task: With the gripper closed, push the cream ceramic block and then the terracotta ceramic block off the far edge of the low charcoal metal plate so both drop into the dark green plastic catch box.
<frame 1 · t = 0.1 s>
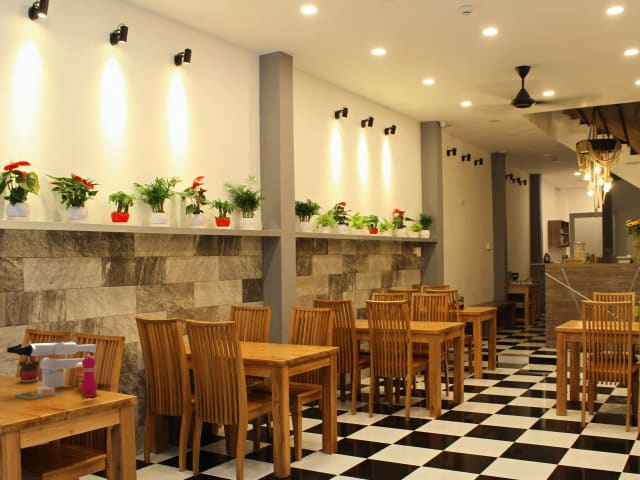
hand: (11, 350, 327), 22 cm above the table, tool horizontal, fingers open, 7 cm apart
pepper mill: (89, 397, 319), on the table
cake: (29, 381, 369), on the table
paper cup: (85, 392, 333), on the table
tile terracotta: (49, 395, 319), point 1 cm above the table, touching plate
tile cream: (42, 393, 323), point 1 cm above the table, touching plate
catch box: (30, 400, 316), on the table
plate: (47, 397, 322), on the table
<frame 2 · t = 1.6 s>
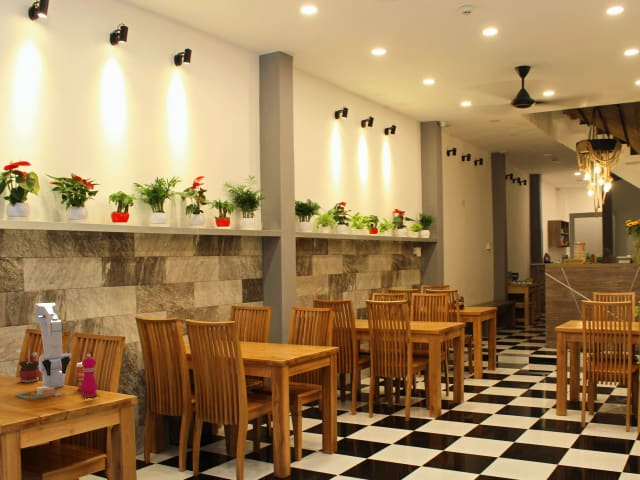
hand: (56, 374, 328), 9 cm above the table, tool pointing down, fingers open, 7 cm apart
nothing on the table moved.
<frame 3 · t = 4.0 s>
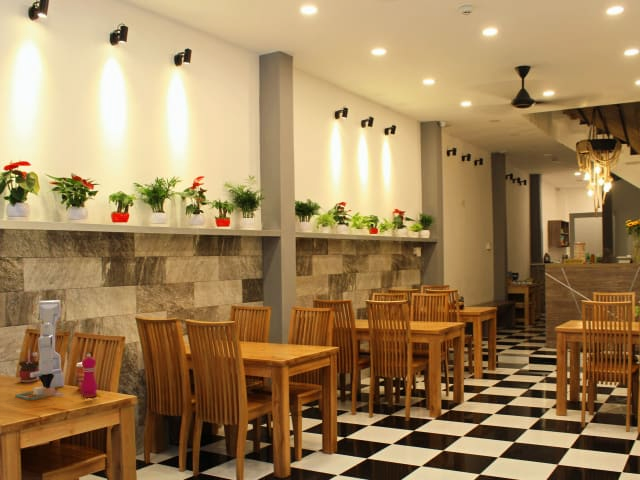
hand: (46, 390, 325), 3 cm above the table, tool pointing down, fingers closed
tile cream: (39, 394, 322), point 2 cm above the table
everything else where it was.
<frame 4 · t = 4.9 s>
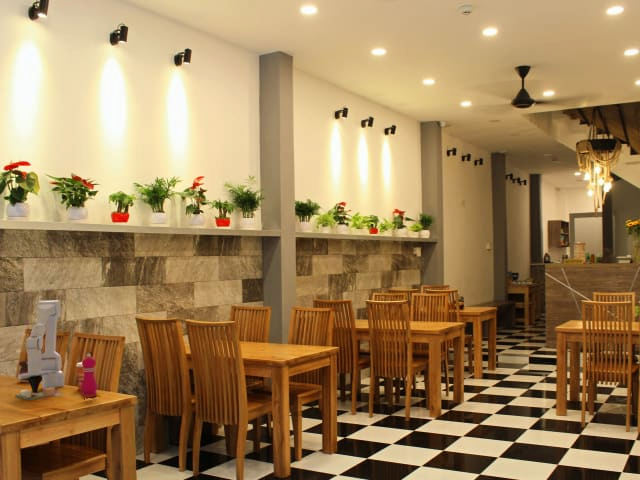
hand: (34, 392, 320), 3 cm above the table, tool pointing down, fingers closed
tile cream: (28, 394, 318), point 2 cm above the table, tilted 90°, touching catch box
everything else where it was.
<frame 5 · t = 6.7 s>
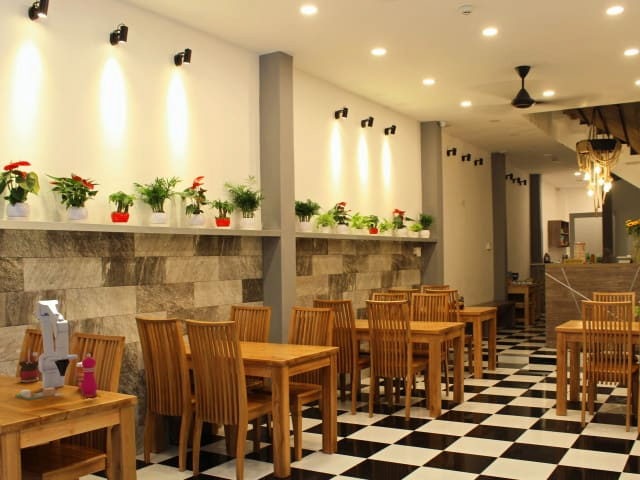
hand: (62, 376, 324), 9 cm above the table, tool pointing down, fingers closed
nothing on the table moved.
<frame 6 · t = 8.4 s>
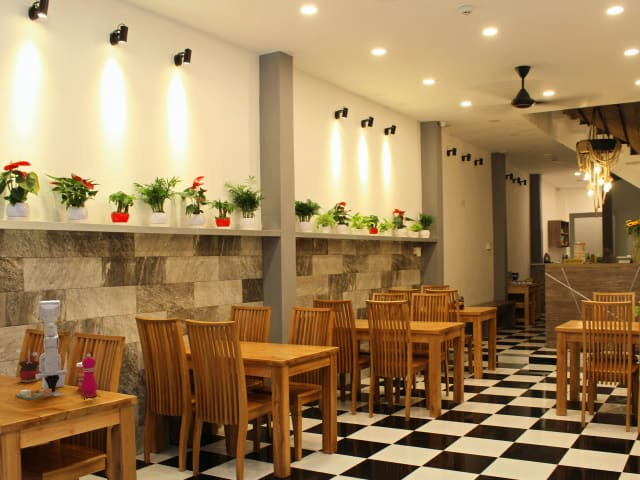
hand: (52, 392, 320), 3 cm above the table, tool pointing down, fingers closed
tile terracotta: (45, 395, 318), point 2 cm above the table, touching gripper
everything else where it was.
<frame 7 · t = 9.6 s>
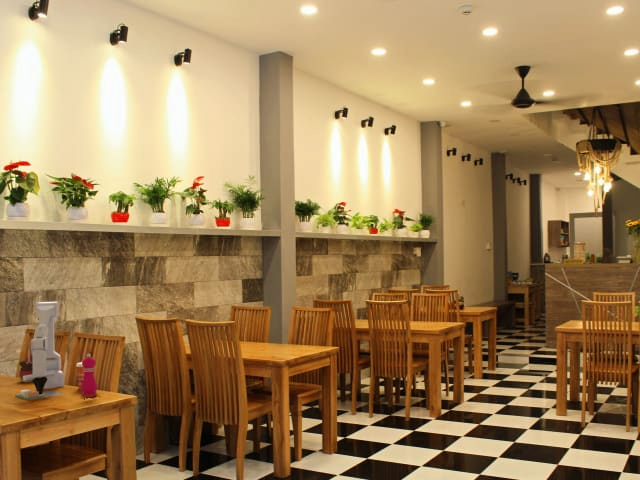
hand: (39, 394, 316), 3 cm above the table, tool pointing down, fingers closed
tile terracotta: (36, 395, 315), point 2 cm above the table, tilted 90°, touching catch box
everything else where it was.
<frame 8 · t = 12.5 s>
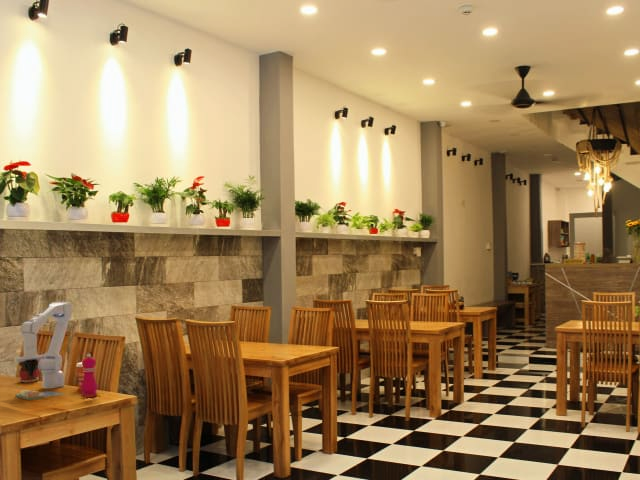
hand: (30, 376, 326), 9 cm above the table, tool pointing down, fingers closed
nothing on the table moved.
at the end: tile cream inside the target area (3.3 cm from its centre), point 2.3 cm above the table; tile terracotta inside the target area (4.0 cm from its centre), point 2.3 cm above the table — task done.
